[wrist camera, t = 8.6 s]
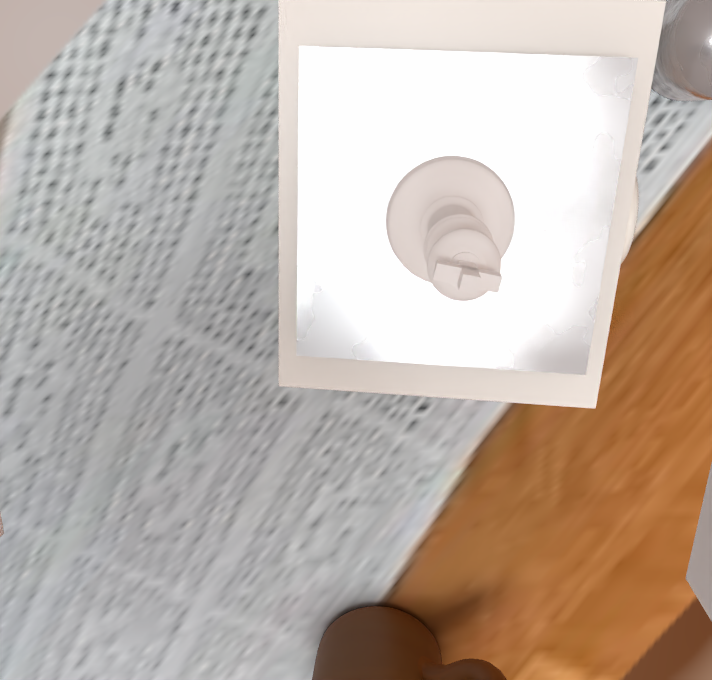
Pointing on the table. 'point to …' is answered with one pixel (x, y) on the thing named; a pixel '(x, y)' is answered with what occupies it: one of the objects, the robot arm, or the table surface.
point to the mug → (389, 650)
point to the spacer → (685, 51)
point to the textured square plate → (476, 141)
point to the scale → (462, 34)
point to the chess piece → (452, 225)
